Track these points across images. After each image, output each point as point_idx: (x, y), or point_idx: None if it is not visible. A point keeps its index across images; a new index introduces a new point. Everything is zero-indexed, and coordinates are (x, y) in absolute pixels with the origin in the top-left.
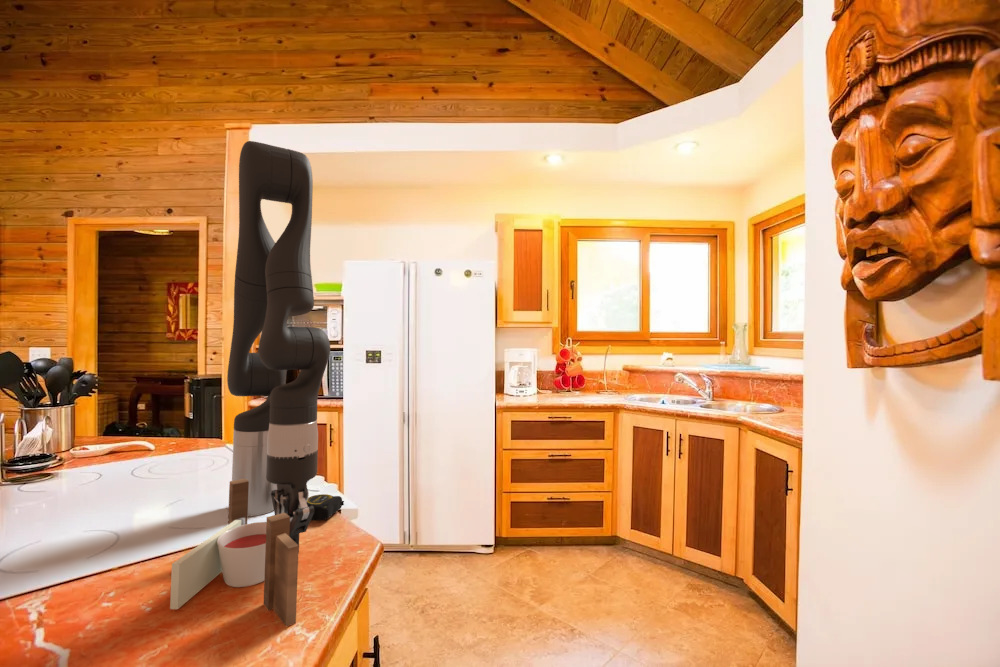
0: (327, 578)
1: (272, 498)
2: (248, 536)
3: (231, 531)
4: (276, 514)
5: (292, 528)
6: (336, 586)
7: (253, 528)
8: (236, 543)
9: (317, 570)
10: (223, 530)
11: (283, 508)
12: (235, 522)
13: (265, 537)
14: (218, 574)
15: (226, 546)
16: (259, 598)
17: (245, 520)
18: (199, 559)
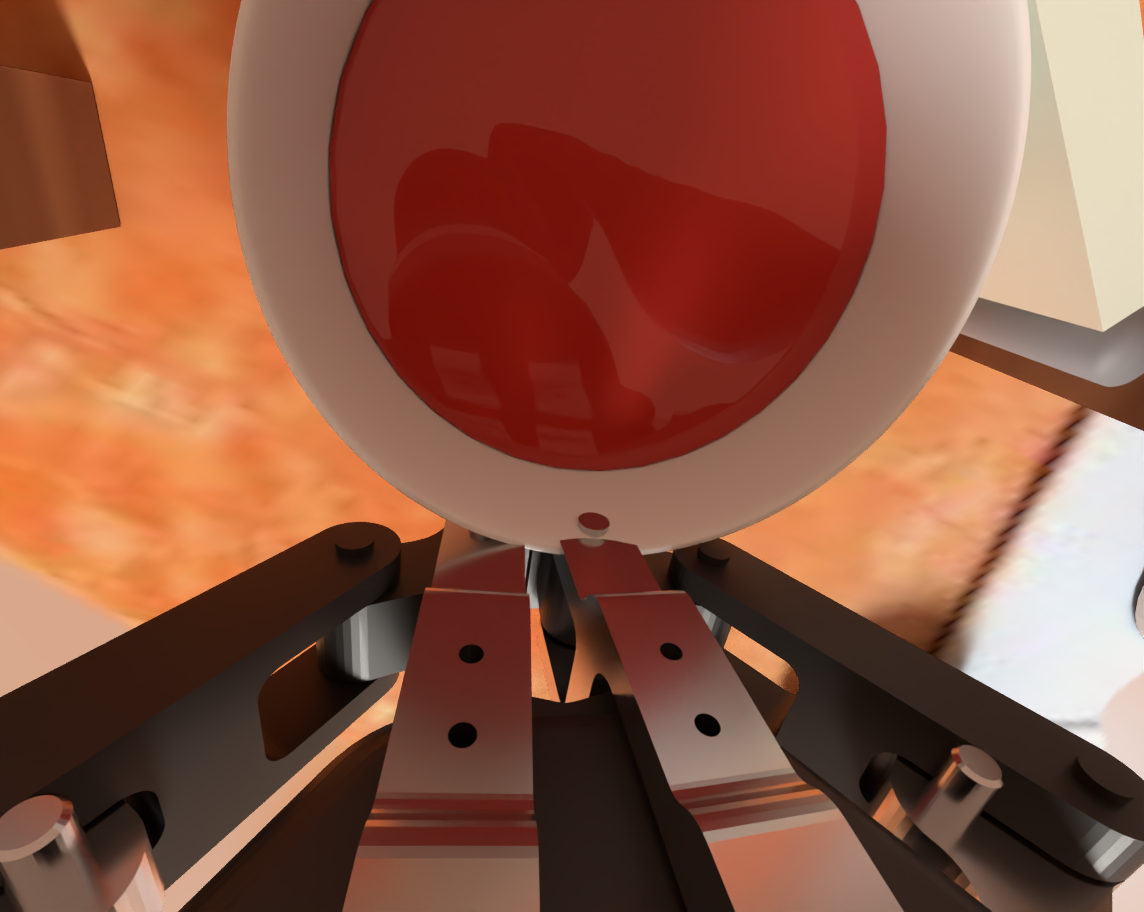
0: (198, 512)
1: (1028, 729)
2: (832, 299)
3: (989, 125)
4: (778, 603)
5: (208, 599)
6: (63, 509)
7: (867, 367)
8: (803, 143)
9: (334, 511)
10: (1088, 18)
11: (426, 762)
12: (1120, 256)
13: (682, 398)
14: None
15: (829, 17)
16: (205, 103)
17: (1096, 392)
18: None
